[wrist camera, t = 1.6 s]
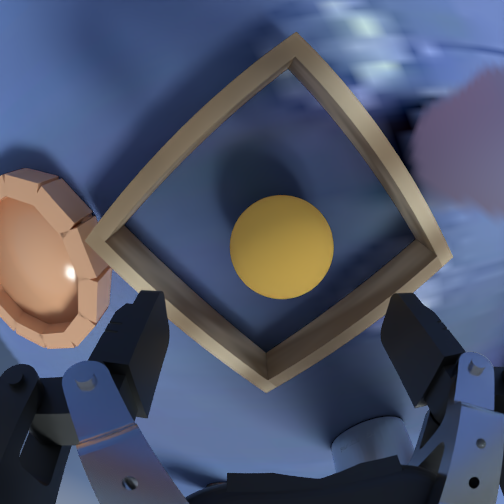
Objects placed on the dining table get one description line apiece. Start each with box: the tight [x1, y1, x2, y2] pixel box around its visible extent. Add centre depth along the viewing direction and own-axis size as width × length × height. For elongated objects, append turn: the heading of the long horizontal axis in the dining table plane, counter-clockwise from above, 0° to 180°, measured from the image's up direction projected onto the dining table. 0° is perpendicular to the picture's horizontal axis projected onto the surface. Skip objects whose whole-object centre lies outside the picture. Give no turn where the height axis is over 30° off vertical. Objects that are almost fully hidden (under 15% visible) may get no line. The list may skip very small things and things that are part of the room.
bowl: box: [0, 168, 112, 349], centre depth 18 cm, size 14×14×2 cm
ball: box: [230, 195, 334, 299], centre depth 16 cm, size 6×6×6 cm
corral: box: [85, 32, 453, 393], centre depth 17 cm, size 16×16×3 cm
